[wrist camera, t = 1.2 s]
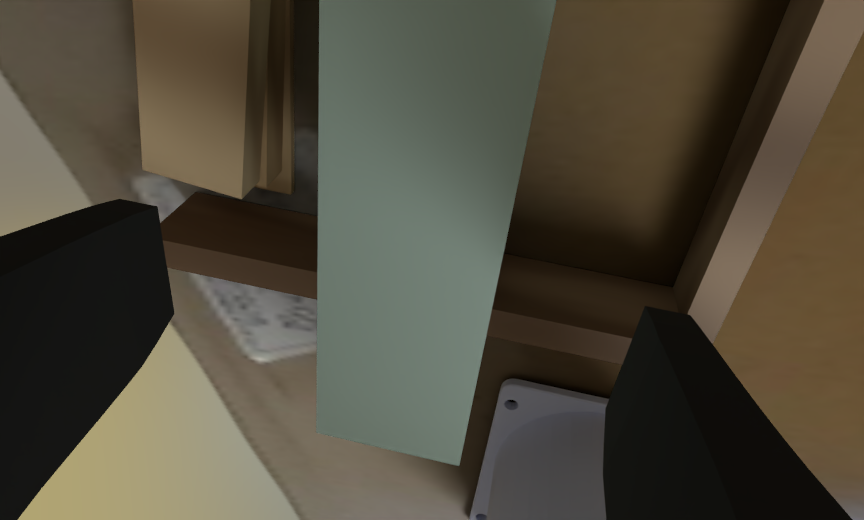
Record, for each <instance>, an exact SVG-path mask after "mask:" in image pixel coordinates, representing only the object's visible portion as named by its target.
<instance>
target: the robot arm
mask: <svg viewBox="0 0 864 520" xmlns="http://www.w3.org/2000/svg"><path fill="white" fill-rule="evenodd" d="M173 315H174V308H173V302H172V295H171V289H170V283H169V277H168V270H167V264H166V258H165V252H164V245H163V239H162V233H161V227H160V220H159V214H158V208H157V206H152V205H147V204H142V203H137V202H132V201H127V200H122V199H118V200H113V201H109V202H105V203H101V204H98V205H94V206H91V207H87V208H84V209H81V210H78V211H75V212H72V213H68V214H65V215H62V216H59V217H57V218H53V219H50V220H48V221H45V222H42V223H39V224H36V225H33V226H30V227H27V228H24V229H21V230H18V231H15V232H13V233H10V234H7V235H4V236H1V237H0V520H17V519H18V518H19V517H20V516H21V514H22V513H23V512H24V510H25V509H26V508H27V506H28V505H29V504H30V502H31V501H32V500H33V499H34V497H35V496H36V495H37V493H38V492H39V491H40V490H41V488H42V487H43V486H44V485H45V483H46V482H47V481H48V480H49V479H50V477H51V476H52V475H53V474H54V472H55V471H56V470H57V469H58V468H59V467H60V465H61V464H62V463H63V462H64V461H65V459H66V458H67V457H68V456H69V455H70V453H71V452H72V451H73V450H74V449H75V447H76V446H77V445H78V444H79V443H80V441H81V440H82V439H83V438H84V437H85V435H86V434H87V433H88V432H89V430H90V429H91V428H92V427H93V426H94V424H95V423H96V422H97V421H98V420H99V419H100V417H101V416H102V415H103V414H104V413H105V411H106V410H107V409H108V408H109V407H110V405H111V404H112V403H113V402H114V400H115V399H116V398H117V397H118V396H119V394H120V393H121V392H122V391H123V389H124V388H125V387H126V386H127V385H128V383H129V382H130V381H131V380H132V378H133V377H134V376H135V374H136V373H137V372H138V371H139V369H140V368H141V367H142V365H143V364H144V362H145V361H146V359H147V357H148V356H149V355H150V353H151V351H152V350H153V348H154V347H155V345H156V344H157V342H158V340H159V338H160V337H161V335H162V333H163V332H164V330H165V328H166V327H167V325H168V323H169V322H170V320H171V318H172V316H173ZM507 400H514V401H516V402H509V401H507ZM469 520H852V519H851V518H850V516H849V515H848V514H847V513H846V512H845V511H844V509H843V508H842V507H841V506H840V505H839V504H838V503H837V501H836V500H835V499H834V498H833V497H832V496H831V494H830V493H829V492H828V491H827V490H826V489H825V488H824V486H823V485H822V484H821V483H820V482H819V481H818V479H817V478H816V477H815V476H814V475H813V474H812V473H811V471H810V470H809V469H808V468H807V467H806V465H805V464H804V463H803V462H802V460H801V459H800V458H799V457H798V456H797V454H796V453H795V452H794V451H793V449H792V448H791V447H790V446H789V445H788V443H787V442H786V441H785V440H784V438H783V437H782V436H781V435H780V433H779V432H778V431H777V430H776V428H775V427H774V426H773V424H772V423H771V422H770V421H769V419H768V418H767V417H766V415H765V414H764V413H763V412H762V410H761V409H760V408H759V406H758V405H757V404H756V402H755V401H754V400H753V398H752V397H751V396H750V394H749V393H748V392H747V391H746V389H745V388H744V387H743V385H742V384H741V382H740V381H739V380H738V378H737V377H736V376H735V374H734V373H733V372H732V370H731V369H730V368H729V366H728V365H727V364H726V362H725V361H724V359H723V358H722V357H721V355H720V354H719V353H718V351H717V350H716V348H715V347H714V346H713V344H712V343H711V342H710V340H709V339H708V338H707V336H706V335H705V333H704V332H703V331H702V329H701V328H700V327H699V325H698V324H697V323H696V322H695V320H694V319H693V318H692V317H691V315H688V314H683V313H678V312H673V311H668V310H663V309H658V308H653V307H648V306H645V307H644V310H643V312H642V315H641V318H640V320H639V323H638V325H637V328H636V331H635V333H634V336H633V338H632V341H631V344H630V346H629V349H628V351H627V354H626V357H625V359H624V362H623V364H622V367H621V370H620V372H619V375H618V377H617V380H616V383H615V385H614V388H613V390H612V393H611V396H610V398H609V399H606V398H602V397H597V396H593V395H588V394H583V393H579V392H574V391H570V390H565V389H561V388H556V387H552V386H547V385H543V384H538V383H533V382H529V381H524V380H520V379H507V380H505V381H504V382H503V383H502V385H501V388H500V392H499V396H498V401H497V405H496V409H495V413H494V417H493V421H492V426H491V430H490V434H489V438H488V442H487V446H486V450H485V455H484V459H483V463H482V467H481V471H480V475H479V480H478V484H477V488H476V492H475V496H474V500H473V505H472V509H471V513H470V517H469Z"/></svg>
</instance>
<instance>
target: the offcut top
mask: <svg viewBox="0 0 864 520" xmlns="http://www.w3.org/2000/svg"><path fill="white" fill-rule="evenodd" d="M270 4H271V0H133V17H134V34H135V51H136V68H137V84H138V101H139V118H140V135H141V152H142V168H143V170H145V171H148V172H151V173H155V174H158V175H161V176H165V177H168V178H172V179H175V180H178V181H182V182H185V183H188V184H192V185H195V186H198V187H202V188H205V189H208V190H212V191H215V192H218V193H222V194H225V195H229V196H232V197H235V198H239V199H242V198H243V197H244V196H245V195H246V194H247V193H248V192H249V191H250V190H251V189H252V188H253V187H254V186H255V185H256V184H257V183H258V182H259V181H260V165H261V149H262V133H263V117H264V101H265V85H266V69H267V53H268V36H269V20H270Z"/></svg>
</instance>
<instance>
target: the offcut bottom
mask: <svg viewBox="0 0 864 520" xmlns="http://www.w3.org/2000/svg"><path fill="white" fill-rule="evenodd" d="M254 187H255V188H260V189H265V190H270V191H275V192H280V193H285V194H289V195H291V194H292V193H293V192H294V191H295V179H294V0H286V23H285V64H284V105H283V145H282V171H281V172H280V173H279V175H278V176H277V177H276V178H275V179H274V180H273V181H272V182H271V183H270V184H269V185H268V187H267V188H266V187H261V186H257V185H255V186H254Z"/></svg>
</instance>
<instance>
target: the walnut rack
mask: <svg viewBox="0 0 864 520" xmlns="http://www.w3.org/2000/svg"><path fill="white" fill-rule="evenodd" d="M863 32H864V0H790V2H789V5H788V7H787V9H786V12H785V14H784V17H783V19H782V22H781V24H780V27H779V29H778V32H777V34H776V36H775V39H774V41H773V44H772V46H771V49H770V51H769V54H768V56H767V58H766V61H765V63H764V66H763V68H762V71H761V73H760V76H759V78H758V81H757V83H756V85H755V88H754V90H753V93H752V95H751V98H750V100H749V103H748V105H747V108H746V110H745V112H744V115H743V117H742V120H741V122H740V125H739V127H738V130H737V132H736V134H735V137H734V139H733V142H732V144H731V147H730V149H729V152H728V154H727V157H726V159H725V161H724V164H723V166H722V169H721V171H720V174H719V176H718V179H717V181H716V184H715V186H714V188H713V191H712V193H711V196H710V198H709V201H708V203H707V206H706V208H705V211H704V213H703V215H702V218H701V220H700V223H699V225H698V228H697V230H696V233H695V235H694V237H693V240H692V242H691V245H690V247H689V250H688V252H687V255H686V257H685V260H684V262H683V264H682V267H681V269H680V272H679V274H678V277H677V279H676V282H675V284H674V287H669V286H664V285H659V284H654V283H649V282H644V281H639V280H634V279H629V278H624V277H619V276H614V275H609V274H604V273H599V272H594V271H589V270H584V269H579V268H574V267H569V266H564V265H559V264H554V263H549V262H544V261H539V260H534V259H529V258H524V257H519V256H514V255H509V254H503V258H502V263H501V268H500V273H499V278H498V282H497V287H496V292H495V297H494V302H493V306H492V311H491V316H490V321H489V326H488V330H487V335H486V336H490V337H495V338H499V339H504V340H509V341H513V342H518V343H523V344H527V345H532V346H537V347H541V348H546V349H551V350H555V351H560V352H565V353H569V354H574V355H579V356H583V357H588V358H593V359H598V360H602V361H607V362H612V363H616V364H621V365H622V364H623V362H624V359H625V357H626V354H627V351H628V349H629V346H630V344H631V341H632V338H633V336H634V333H635V331H636V328H637V325H638V323H639V320H640V318H641V315H642V312H643V310H644V307H645V306H648V307H653V308H658V309H663V310H668V311H673V312H678V313H683V314H688V315H691V317H692V318H693V319H694V320H695V322H696V323H697V324H698V325H699V327H700V328H701V329H702V331H703V332H704V333H705V335H706V336H707V338H708V339H709V340H710V342H711V343H712V344H713V342H714V340H715V338H716V336H717V334H718V332H719V330H720V328H721V325H722V323H723V321H724V319H725V317H726V315H727V313H728V311H729V309H730V307H731V305H732V303H733V301H734V299H735V296H736V294H737V292H738V290H739V288H740V286H741V284H742V282H743V280H744V278H745V276H746V274H747V272H748V270H749V268H750V265H751V263H752V261H753V259H754V257H755V255H756V253H757V251H758V249H759V247H760V245H761V243H762V241H763V239H764V236H765V234H766V232H767V230H768V228H769V226H770V224H771V222H772V220H773V218H774V216H775V214H776V212H777V210H778V207H779V205H780V203H781V201H782V199H783V197H784V195H785V193H786V191H787V189H788V187H789V185H790V183H791V181H792V178H793V176H794V174H795V172H796V170H797V168H798V166H799V164H800V162H801V160H802V158H803V156H804V154H805V152H806V150H807V147H808V145H809V143H810V141H811V139H812V137H813V135H814V133H815V131H816V129H817V127H818V125H819V123H820V121H821V118H822V116H823V114H824V112H825V110H826V108H827V106H828V104H829V102H830V100H831V98H832V96H833V94H834V92H835V89H836V87H837V85H838V83H839V81H840V79H841V77H842V75H843V73H844V71H845V69H846V67H847V65H848V63H849V61H850V58H851V56H852V54H853V52H854V50H855V48H856V46H857V44H858V42H859V40H860V38H861V36H862V34H863ZM160 227H161V233H162V239H163V245H164V252H165V258H166V264H167V268H172V269H177V270H181V271H186V272H191V273H196V274H200V275H205V276H210V277H214V278H219V279H224V280H228V281H233V282H238V283H242V284H247V285H252V286H256V287H261V288H266V289H270V290H275V291H280V292H284V293H289V294H294V295H298V296H303V297H308V298H312V299H317V268H318V216H313V215H308V214H303V213H298V212H293V211H288V210H283V209H278V208H273V207H268V206H263V205H258V204H253V203H248V202H243V201H238V200H233V199H228V198H223V197H218V196H213V195H208V194H203V193H198V192H195V193H194V194H193V195H192V196H191V197H189V198H188V199H187V200H186V201H185V202H184V203H183V204H182V205H180V206H179V207H178V208H177V209H176V210H175V211H174V212H173V213H171V214H170V215H169V216H168V217H167V218H166V219H165V220H163V221H162V222H161V223H160Z"/></svg>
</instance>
